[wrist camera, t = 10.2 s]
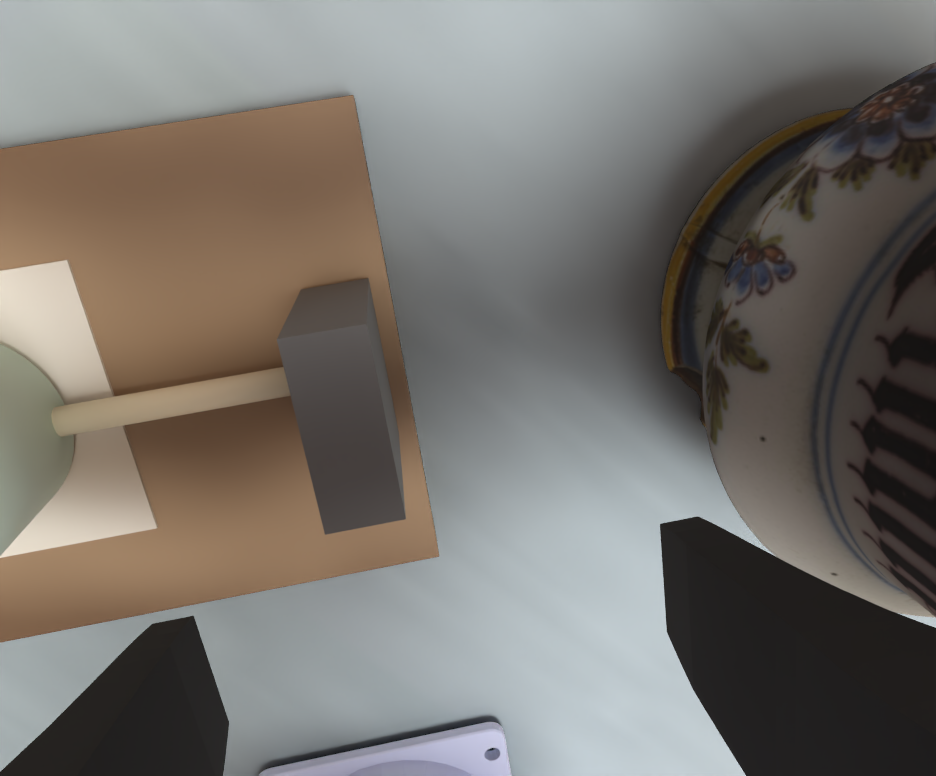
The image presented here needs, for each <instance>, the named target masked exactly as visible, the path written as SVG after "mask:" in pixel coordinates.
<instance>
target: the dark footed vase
mask: <svg viewBox="0 0 936 776" xmlns="http://www.w3.org/2000/svg"><path fill="white" fill-rule="evenodd" d="M661 335H662V344H663V350H664V355H665V360H666V364H667V367H668V369H669V371H670V372H673V373H675V374H677V375H678V376H679V377H681V379H682V380H683V381H684V382H685V383H686V384H687V385H688V386H690V387H691V388H692V389H694V390H695V391H696V392H697V393H698V395H699V396H700V399H701V404H702V406H701V416H700V420H701V422H702V424H703V425H704V426H705V427H706V431H707V436H708V441H709V445H710V450H711V453H712V457H713V460H714V463H715V466H716V469H717V472H718V474H719V477H720V479H721V481H722V484H723V486H724V488H725V490H726V492H727V494H728V496H729V498H730V500H731V502H732V503H733V505H734V507H735V508H736V510H737V512H738V513H739V515H740V516H741V518H742V519H743V520H744V522H745V523H746V525H747V526H748V527H749V529H750V530H751V531H752V532H753V533H754V535H755V536H756V537H757V538H758V539H759V541H760V542H761V543H762V544H763V545H764V546H765V547H766V548H767V549H768V550H769V551H771V552H772V553H773V554H774V555H775V556H776V557H777V558H779V559H781V560H783V561H785V562H787V563H789V564H791V565H793V566H795V567H797V568H799V569H801V570H803V571H805V572H807V573H809V574H811V575H813V576H815V577H817V578H819V579H821V580H823V581H825V582H827V583H829V584H831V585H834V586H836V587H838V588H840V589H842V590H844V591H847V592H849V593H851V594H853V595H856V596H858V597H860V598H862V599H865V600H867V601H869V602H871V603H874V604H876V605H878V606H880V607H883V608H885V609H888V610H890V611H892V612H895V613H901V614H907V615H915V616H925V617H936V63H933V64H931V65H928V66H926V67H923V68H921V69H919V70H917V71H915V72H913V73H911V74H909V75H907V76H905V77H903V78H901V79H899V80H897V81H896V82H894V83H892V84H890V85H888V86H887V87H885V88H883V89H882V90H880V91H878V92H877V93H875V94H873V95H872V96H870V97H869V98H867V99H866V100H864V101H863V102H861V103H860V104H858V105H857V106H856V107H854V108H847V109H840V110H834V111H828V112H824V113H820V114H817V115H814V116H810V117H807V118H805V119H802V120H799V121H797V122H795V123H793V124H790V125H788V126H786V127H784V128H782V129H780V130H778V131H777V132H775V133H773V134H771V135H770V136H768V137H767V138H765V139H763V140H762V141H760V142H759V143H757V144H756V145H754V146H753V147H752V148H750V149H749V150H748V151H746V152H745V153H744V154H743V155H742V156H740V157H739V158H738V159H737V160H736V161H735V162H734V163H733V164H731V165H730V166H729V167H728V168H727V169H726V170H725V171H724V172H723V173H722V174H721V176H720V177H719V178H718V179H717V180H716V181H715V182H714V183H713V184H712V186H711V187H710V188H709V189H708V191H707V192H706V193H705V195H704V196H703V197H702V199H701V200H700V202H699V203H698V204H697V206H696V207H695V209H694V211H693V212H692V214H691V215H690V217H689V218H688V220H687V222H686V224H685V226H684V227H683V228H682V231H681V233H680V236H679V239H678V241H677V244H676V246H675V248H674V251H673V254H672V257H671V259H670V263H669V266H668V269H667V273H666V278H665V282H664V287H663V294H662V301H661Z"/></svg>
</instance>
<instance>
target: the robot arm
mask: <svg viewBox="0 0 936 776" xmlns="http://www.w3.org/2000/svg"><path fill="white" fill-rule="evenodd" d="M660 531H661V546H662V562H663V577H664V593H665V608H666V623H667V633H668V635H669V638H670V640H671V642H672V644H673V647H674V649H675V651H676V653H677V656H678V658H679V660H680V662H681V665H682V667H683V669H684V671H685V673H686V675H687V677H688V679H689V681H690V684H691V686H692V688H693V690H694V692H695V693H696V695H697V697H698V698H699V700H700V702H701V703H702V705H703V707H704V708H705V710H706V712H707V713H708V715H709V716H710V718H711V720H712V721H713V723H714V725H715V726H716V728H717V729H718V731H719V733H720V734H721V736H722V738H723V739H724V741H725V742H726V744H727V746H728V747H729V749H730V750H731V752H732V754H733V755H734V757H735V758H736V760H737V762H738V763H739V765H740V766H741V768H742V770H743V771H744V773H745V775H746V776H936V628H934V627H932V626H929V625H926V624H923V623H921V622H918V621H915V620H913V619H910V618H907V617H905V616H902V615H900V614H897V613H895V612H892V611H890V610H888V609H885V608H883V607H880V606H878V605H876V604H874V603H871V602H869V601H867V600H865V599H862V598H860V597H858V596H856V595H853V594H851V593H849V592H847V591H844V590H842V589H840V588H838V587H836V586H834V585H831V584H829V583H827V582H825V581H823V580H821V579H819V578H817V577H815V576H813V575H811V574H809V573H807V572H805V571H803V570H801V569H799V568H797V567H795V566H793V565H791V564H789V563H787V562H785V561H783V560H781V559H779V558H777V557H775V556H773V555H771V554H770V553H768V552H766V551H764V550H762V549H760V548H758V547H756V546H754V545H753V544H751V543H749V542H747V541H745V540H743V539H741V538H739V537H738V536H736V535H734V534H732V533H730V532H728V531H726V530H724V529H722V528H720V527H719V526H717V525H715V524H713V523H711V522H709V521H706V520H704V519H702V518H700V517H693V518H688V519H683V520H678V521H673V522H668V523H663V524H660ZM228 728H229V721H228V718H227V715H226V712H225V709H224V706H223V703H222V700H221V697H220V694H219V691H218V688H217V685H216V682H215V679H214V676H213V673H212V670H211V667H210V664H209V661H208V658H207V655H206V652H205V649H204V646H203V643H202V640H201V637H200V634H199V631H198V628H197V625H196V622H195V619H194V616H190V617H185V618H180V619H175V620H170V621H165V622H160V623H155V624H152V625H151V626H150V627H148V628H147V629H146V630H145V631H144V632H143V633H142V634H141V635H140V636H139V637H137V638H136V639H135V640H134V641H133V642H132V643H131V644H130V645H129V646H128V647H127V648H126V649H125V650H124V651H123V652H122V653H121V654H120V655H119V656H118V657H117V658H116V659H115V660H114V661H113V662H112V663H111V664H110V665H109V666H108V667H107V668H106V669H105V671H104V672H103V673H102V674H101V675H100V676H99V677H98V678H97V679H96V680H95V681H94V682H93V683H92V684H91V685H90V686H89V687H88V688H87V689H86V690H85V691H84V692H83V693H82V694H81V695H80V696H79V697H78V698H77V699H76V700H75V701H74V702H73V703H72V704H71V705H70V706H69V707H68V708H67V709H66V710H65V711H64V712H63V713H62V714H61V715H60V716H59V717H58V718H57V719H56V720H55V721H54V722H53V723H52V724H51V725H50V726H49V727H48V728H47V729H46V730H45V731H44V732H42V733H41V734H40V735H39V736H38V737H37V738H36V739H35V740H34V741H33V742H32V743H31V744H30V745H29V746H27V747H26V748H25V749H24V750H23V751H22V752H21V753H20V754H19V755H18V756H17V757H16V758H15V759H14V760H12V761H11V762H10V763H9V764H8V765H7V766H6V767H5V768H4V769H3V770H2V771H1V772H0V776H223V770H224V763H225V755H226V746H227V737H228ZM490 748H496V749H495V750H492V751H487V750H488V749H490ZM259 776H512V775H511V769H510V763H509V757H508V751H507V745H506V739H505V735H504V730H503V728H502V726H501V725H499V724H498V723H495V722H485V723H480V724H475V725H471V726H466V727H461V728H456V729H452V730H447V731H442V732H438V733H433V734H428V735H423V736H419V737H414V738H409V739H405V740H400V741H395V742H390V743H386V744H381V745H376V746H372V747H367V748H362V749H357V750H353V751H348V752H343V753H339V754H334V755H329V756H324V757H320V758H315V759H310V760H306V761H301V762H296V763H291V764H287V765H282V766H277V767H273V768H269V769H266V770H264V771H262V772H261V773H260V774H259Z"/></svg>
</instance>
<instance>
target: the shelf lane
mask: <svg viewBox="0 0 936 776" xmlns="http://www.w3.org/2000/svg"><path fill="white" fill-rule="evenodd" d="M366 278H369V283H370V288H371V293H372V298H373V303H374V308H375V313H376V318H377V324H378V329H379V334H380V339H381V344H382V349H383V354H384V359H385V364H386V369H387V375H388V380H389V385H390V390H391V395H392V400H393V405H394V410H395V415H396V421H397V426H398V431H399V441H400V453H401V465H402V477H403V489H404V501H405V513H406V519H405V520H400V521H394V522H389V523H384V524H379V525H374V526H368V527H363V528H358V529H353V530H348V531H342V532H337V533H332V534H327V535H325V533H324V529H323V525H322V521H321V517H320V513H319V509H318V505H317V501H316V497H315V493H314V488H313V484H312V480H311V476H310V472H309V468H308V464H307V460H306V456H305V452H304V448H303V444H302V440H301V436H300V432H299V428H298V424H297V420H296V415H295V411H294V407H293V403H292V399H291V396H286V397H280V398H275V399H269V400H263V401H258V402H252V403H247V404H241V405H235V406H230V407H224V408H219V409H213V410H208V411H202V412H196V413H191V414H185V415H180V416H174V417H168V418H163V419H157V420H152V421H146V422H140V423H135V424H129V425H124V426H118V427H112V428H107V429H101V430H96V431H90V432H85V433H79V434H73V435H74V453H73V459H72V464H71V467H70V470H69V473H68V475H67V477H66V479H65V481H64V483H63V485H62V486H61V487H60V489H59V490H58V491H57V493H56V494H55V495H54V496H53V498H52V499H51V500H50V501H49V502H48V503H47V504H46V505H45V506H44V508H43V509H42V510H41V511H40V512H39V513H38V514H37V515H36V517H35V518H34V519H33V520H32V521H31V522H30V523H29V524H28V525H27V527H26V528H25V529H24V530H23V531H22V532H21V533H20V534H19V536H18V537H17V538H16V539H15V540H14V541H13V542H12V543H11V544H10V546H9V547H8V548H7V549H6V550H5V551H4V552H3V553H2V555H1V556H0V642H5V641H10V640H15V639H20V638H25V637H30V636H35V635H41V634H46V633H51V632H56V631H61V630H66V629H71V628H76V627H81V626H86V625H92V624H97V623H102V622H107V621H112V620H117V619H122V618H127V617H132V616H138V615H143V614H148V613H153V612H158V611H163V610H168V609H173V608H178V607H183V606H189V605H194V604H199V603H204V602H209V601H214V600H219V599H224V598H229V597H234V596H240V595H245V594H250V593H255V592H260V591H265V590H270V589H275V588H280V587H286V586H291V585H296V584H301V583H306V582H311V581H316V580H321V579H326V578H331V577H337V576H342V575H347V574H352V573H357V572H362V571H367V570H372V569H377V568H383V567H388V566H393V565H398V564H403V563H408V562H413V561H418V560H423V559H428V558H434V557H439V552H438V545H437V539H436V533H435V527H434V522H433V517H432V511H431V506H430V501H429V495H428V490H427V485H426V479H425V474H424V468H423V463H422V458H421V452H420V447H419V442H418V436H417V431H416V426H415V420H414V415H413V410H412V404H411V399H410V393H409V388H408V383H407V377H406V372H405V367H404V361H403V356H402V351H401V345H400V340H399V334H398V329H397V324H396V318H395V313H394V308H393V302H392V297H391V292H390V286H389V281H388V276H387V270H386V265H385V259H384V254H383V249H382V243H381V238H380V233H379V227H378V222H377V217H376V211H375V206H374V201H373V195H372V190H371V184H370V179H369V174H368V168H367V163H366V158H365V152H364V147H363V142H362V136H361V131H360V126H359V120H358V115H357V109H356V104H355V99H354V96H353V95H351V96H344V97H337V98H331V99H324V100H318V101H311V102H305V103H298V104H292V105H285V106H278V107H272V108H265V109H259V110H252V111H246V112H239V113H233V114H226V115H219V116H213V117H206V118H200V119H193V120H187V121H180V122H174V123H167V124H160V125H154V126H147V127H141V128H134V129H128V130H121V131H115V132H108V133H102V134H95V135H88V136H82V137H75V138H69V139H62V140H56V141H49V142H43V143H36V144H29V145H23V146H16V147H10V148H3V149H0V344H2V345H4V346H6V347H8V348H10V349H12V350H13V351H15V352H16V353H18V354H19V355H21V356H23V357H24V358H25V359H27V360H28V361H29V362H30V363H32V364H33V365H34V366H35V367H37V368H38V369H39V370H40V371H41V372H42V373H43V374H44V375H45V376H46V377H47V379H48V380H49V381H50V382H51V384H52V385H53V386H54V388H55V389H56V390H57V392H58V394H59V395H60V397H61V399H62V400H63V402H64V404H65V405H70V404H75V403H81V402H87V401H92V400H98V399H104V398H109V397H115V396H121V395H126V394H132V393H138V392H143V391H149V390H155V389H160V388H166V387H172V386H177V385H183V384H189V383H195V382H200V381H206V380H212V379H217V378H223V377H229V376H234V375H240V374H246V373H251V372H257V371H263V370H268V369H274V368H280V367H283V363H282V359H281V355H280V351H279V347H278V342H277V338H278V336H279V334H280V332H281V330H282V328H283V325H284V323H285V321H286V319H287V317H288V315H289V313H290V311H291V309H292V307H293V305H294V303H295V301H296V299H297V297H298V294H299V292H300V290H301V289H306V288H312V287H318V286H324V285H330V284H336V283H342V282H348V281H354V280H360V279H366Z"/></svg>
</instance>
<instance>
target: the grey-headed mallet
mask: <svg viewBox="0 0 936 776" xmlns="http://www.w3.org/2000/svg"><path fill="white" fill-rule="evenodd" d="M277 342H278V347H279V351H280V355H281V359H282V363H283V367H280V368H274V369H268V370H263V371H257V372H251V373H246V374H240V375H234V376H229V377H223V378H217V379H212V380H206V381H200V382H195V383H189V384H183V385H177V386H172V387H166V388H160V389H155V390H149V391H143V392H138V393H132V394H126V395H121V396H115V397H109V398H104V399H98V400H92V401H87V402H81V403H75V404H70V405H65V404H64V402H63V400H62V399H61V397H60V395H59V394H58V392H57V390H56V389H55V388H54V386H53V385H52V384H51V382H50V381H49V380H48V379H47V377H46V376H45V375H44V374H43V373H42V372H41V371H40V370H39V369H38V368H37V367H35V366H34V365H33V364H32V363H30V362H29V361H28V360H27V359H25V358H24V357H23V356H21V355H19V354H18V353H16V352H15V351H13V350H12V349H10V348H8V347H6V346H4V345H2V344H0V556H1V555H2V553H3V552H4V551H5V550H6V549H7V548H8V547H9V546H10V544H11V543H12V542H13V541H14V540H15V539H16V538H17V537H18V536H19V534H20V533H21V532H22V531H23V530H24V529H25V528H26V527H27V525H28V524H29V523H30V522H31V521H32V520H33V519H34V518H35V517H36V515H37V514H38V513H39V512H40V511H41V510H42V509H43V508H44V506H45V505H46V504H47V503H48V502H49V501H50V500H51V499H52V498H53V496H54V495H55V494H56V493H57V491H58V490H59V489H60V487H61V486H62V485H63V483H64V481H65V479H66V477H67V475H68V473H69V470H70V467H71V464H72V459H73V453H74V435H73V434H79V433H85V432H90V431H96V430H101V429H107V428H112V427H118V426H124V425H129V424H135V423H140V422H146V421H152V420H157V419H163V418H168V417H174V416H180V415H185V414H191V413H196V412H202V411H208V410H213V409H219V408H224V407H230V406H235V405H241V404H247V403H252V402H258V401H263V400H269V399H275V398H280V397H286V396H291V399H292V403H293V407H294V411H295V415H296V420H297V424H298V428H299V432H300V436H301V440H302V444H303V448H304V452H305V456H306V460H307V464H308V468H309V472H310V476H311V480H312V484H313V488H314V493H315V497H316V501H317V505H318V509H319V513H320V517H321V521H322V525H323V529H324V533H325V535H327V534H332V533H337V532H342V531H348V530H353V529H358V528H363V527H368V526H374V525H379V524H384V523H389V522H394V521H400V520H405V519H406V513H405V501H404V489H403V477H402V465H401V453H400V441H399V431H398V426H397V421H396V415H395V410H394V405H393V400H392V395H391V390H390V385H389V380H388V375H387V369H386V364H385V359H384V354H383V349H382V344H381V339H380V334H379V329H378V324H377V318H376V313H375V308H374V303H373V298H372V293H371V288H370V283H369V278H366V279H360V280H354V281H348V282H342V283H336V284H330V285H324V286H318V287H312V288H306V289H301V290H300V292H299V294H298V297H297V299H296V301H295V303H294V305H293V307H292V309H291V311H290V313H289V315H288V317H287V319H286V321H285V323H284V325H283V328H282V330H281V332H280V334H279V336H278V338H277Z"/></svg>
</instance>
